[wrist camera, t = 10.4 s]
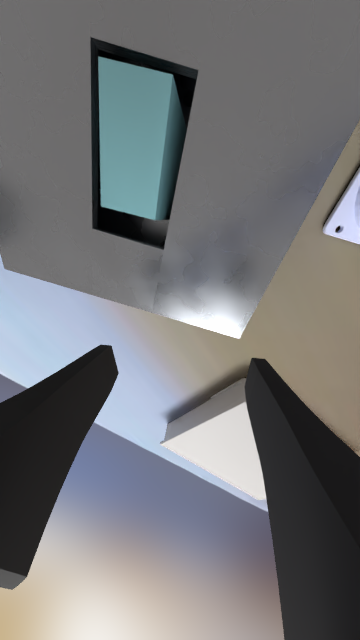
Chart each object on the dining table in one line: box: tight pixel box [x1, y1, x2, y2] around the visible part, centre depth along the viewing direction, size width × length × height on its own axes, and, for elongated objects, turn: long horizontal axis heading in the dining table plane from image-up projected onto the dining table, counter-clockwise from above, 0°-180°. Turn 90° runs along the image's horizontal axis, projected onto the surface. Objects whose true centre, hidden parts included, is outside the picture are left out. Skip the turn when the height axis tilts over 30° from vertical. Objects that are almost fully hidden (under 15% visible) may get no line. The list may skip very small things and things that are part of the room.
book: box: [160, 378, 266, 500], centre depth 28 cm, size 18×4×24 cm
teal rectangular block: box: [98, 56, 187, 220], centre depth 11 cm, size 3×5×6 cm, turn 168°
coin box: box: [0, 0, 360, 338], centre depth 11 cm, size 18×16×6 cm
